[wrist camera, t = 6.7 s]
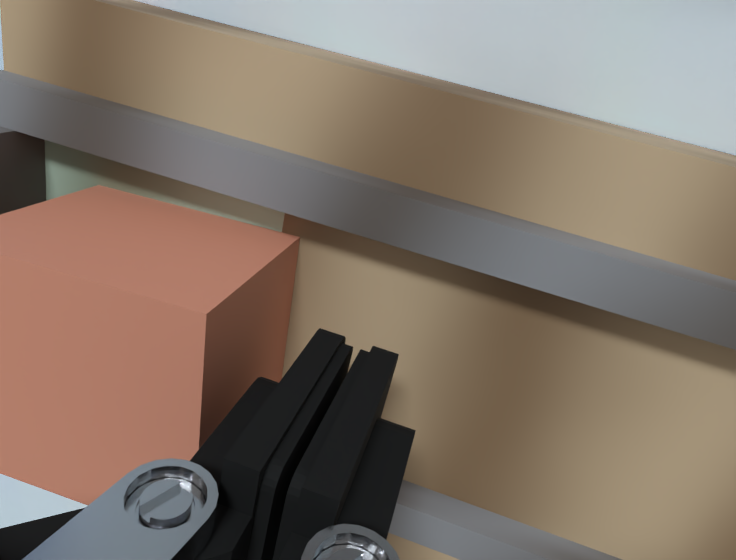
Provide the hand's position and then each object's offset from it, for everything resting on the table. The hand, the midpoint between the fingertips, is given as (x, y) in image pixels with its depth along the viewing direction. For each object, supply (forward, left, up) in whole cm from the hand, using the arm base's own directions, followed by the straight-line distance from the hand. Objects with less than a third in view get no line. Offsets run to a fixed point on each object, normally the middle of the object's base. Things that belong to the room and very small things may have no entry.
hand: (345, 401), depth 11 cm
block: (+5, 0, -2) cm, 5 cm away
